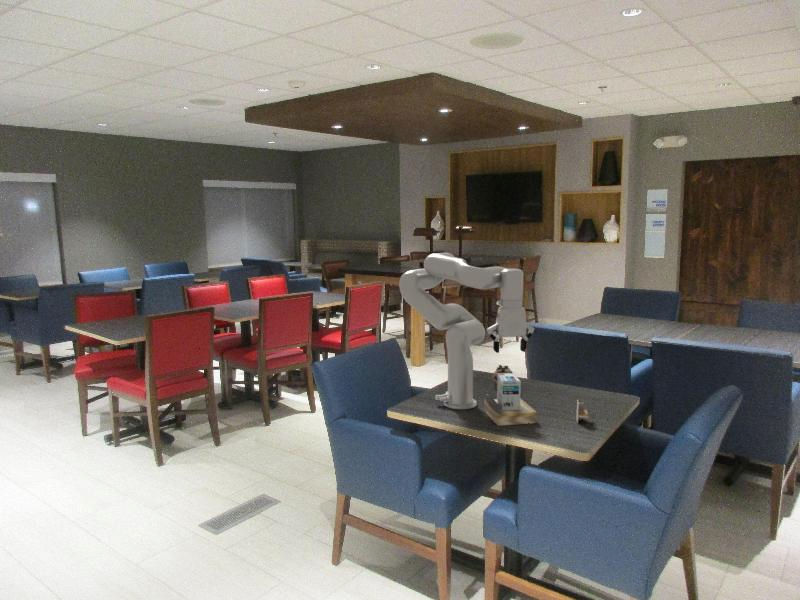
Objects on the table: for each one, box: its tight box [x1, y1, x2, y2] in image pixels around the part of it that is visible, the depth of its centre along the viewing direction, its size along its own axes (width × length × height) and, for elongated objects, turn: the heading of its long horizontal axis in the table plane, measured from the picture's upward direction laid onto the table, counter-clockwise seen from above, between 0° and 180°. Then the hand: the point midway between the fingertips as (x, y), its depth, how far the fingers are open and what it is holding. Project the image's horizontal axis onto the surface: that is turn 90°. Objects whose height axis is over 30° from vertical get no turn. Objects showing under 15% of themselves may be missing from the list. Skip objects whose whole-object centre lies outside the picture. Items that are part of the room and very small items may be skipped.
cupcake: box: [491, 364, 514, 391], centre depth 243 cm, size 10×10×10 cm
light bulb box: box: [496, 372, 522, 410], centre depth 210 cm, size 11×7×11 cm, turn 1°
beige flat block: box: [483, 393, 538, 426], centre depth 211 cm, size 14×16×6 cm
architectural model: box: [575, 399, 589, 425], centre depth 205 cm, size 3×7×7 cm, turn 167°
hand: (509, 351), depth 208 cm, fingers open, 9 cm apart
